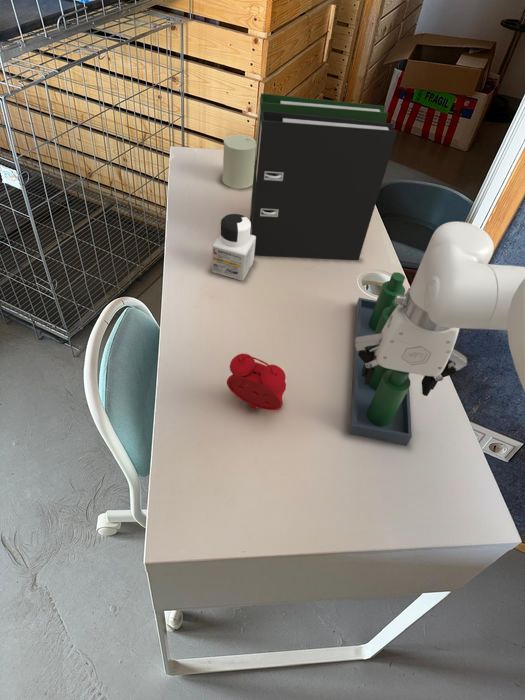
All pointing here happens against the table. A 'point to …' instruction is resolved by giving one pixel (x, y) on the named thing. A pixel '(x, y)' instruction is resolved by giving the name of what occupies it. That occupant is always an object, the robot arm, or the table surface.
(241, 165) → the can
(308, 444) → the table surface
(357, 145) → the binder
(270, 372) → the alarm clock
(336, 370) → the table surface
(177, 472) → the table surface
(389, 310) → the bottle
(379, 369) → the bottle
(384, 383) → the loose bottle
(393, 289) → the bottle
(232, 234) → the container
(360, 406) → the tray
